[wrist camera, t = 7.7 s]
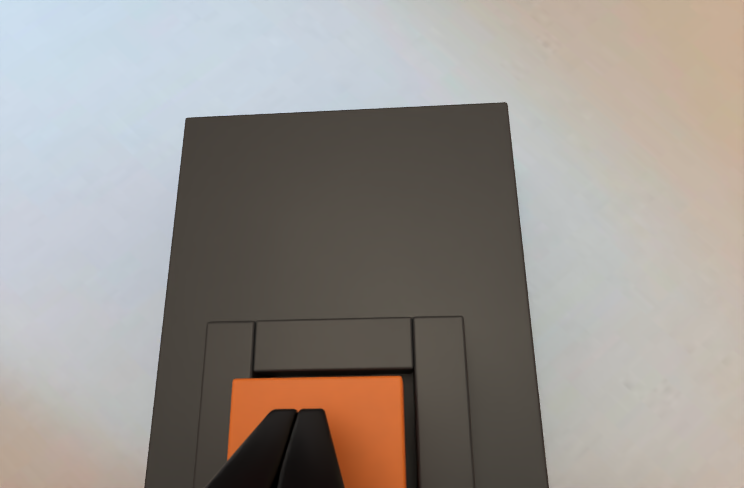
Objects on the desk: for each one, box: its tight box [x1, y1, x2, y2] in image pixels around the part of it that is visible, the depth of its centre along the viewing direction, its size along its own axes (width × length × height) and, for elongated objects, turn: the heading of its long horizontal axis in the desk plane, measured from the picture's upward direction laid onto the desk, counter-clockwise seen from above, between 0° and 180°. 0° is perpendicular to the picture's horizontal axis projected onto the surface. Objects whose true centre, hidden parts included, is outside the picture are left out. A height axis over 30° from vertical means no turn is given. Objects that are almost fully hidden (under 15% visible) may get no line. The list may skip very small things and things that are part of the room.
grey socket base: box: [144, 102, 549, 488], centre depth 15 cm, size 13×10×6 cm
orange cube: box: [227, 376, 407, 488], centre depth 10 cm, size 3×3×3 cm
